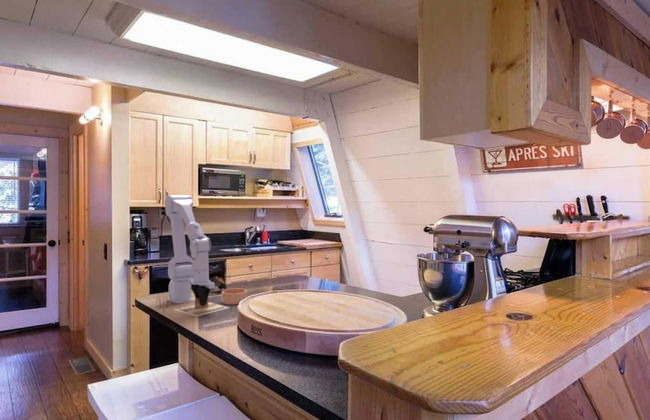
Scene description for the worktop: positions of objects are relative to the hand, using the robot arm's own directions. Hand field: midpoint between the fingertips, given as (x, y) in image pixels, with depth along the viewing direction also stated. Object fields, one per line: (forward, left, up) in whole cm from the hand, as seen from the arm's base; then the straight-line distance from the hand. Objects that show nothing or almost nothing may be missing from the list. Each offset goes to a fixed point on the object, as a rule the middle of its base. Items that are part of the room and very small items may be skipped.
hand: (201, 304), depth 162 cm
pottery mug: (-19, +21, -2) cm, 28 cm away
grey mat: (0, 0, -2) cm, 2 cm away
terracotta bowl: (+1, +15, -2) cm, 15 cm away
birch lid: (0, 0, -2) cm, 2 cm away
